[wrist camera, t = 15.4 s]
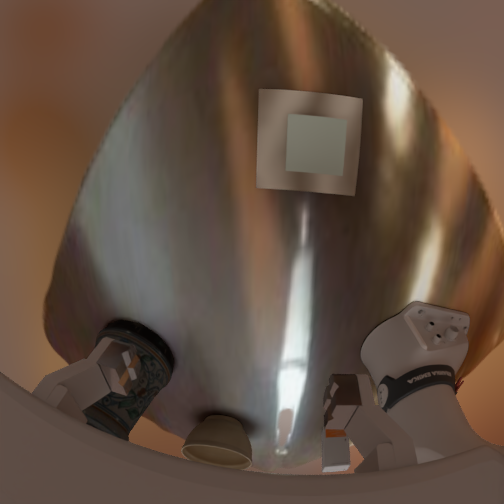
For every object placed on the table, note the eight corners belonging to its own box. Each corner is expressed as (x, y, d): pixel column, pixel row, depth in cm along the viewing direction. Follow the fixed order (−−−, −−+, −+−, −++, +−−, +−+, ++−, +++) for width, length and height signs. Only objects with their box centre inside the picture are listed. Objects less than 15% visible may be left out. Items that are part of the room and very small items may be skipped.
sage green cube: (335, 121, 28) (347, 119, 22) (332, 167, 30) (342, 176, 24) (287, 116, 28) (288, 113, 23) (285, 163, 30) (285, 170, 25)
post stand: (360, 99, 28) (378, 93, 21) (352, 193, 33) (368, 210, 26) (259, 90, 29) (253, 80, 22) (256, 185, 34) (249, 200, 27)
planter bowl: (268, 432, 59) (264, 469, 49) (216, 439, 64) (208, 471, 54) (234, 402, 54) (225, 443, 44) (179, 410, 58) (167, 445, 49)
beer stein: (180, 337, 46) (126, 460, 24) (172, 392, 55) (137, 486, 33) (100, 305, 46) (26, 402, 24) (108, 366, 55) (60, 448, 32)
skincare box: (347, 423, 54) (351, 464, 44) (344, 430, 56) (347, 470, 45) (323, 424, 55) (324, 467, 44) (320, 432, 57) (321, 472, 46)
